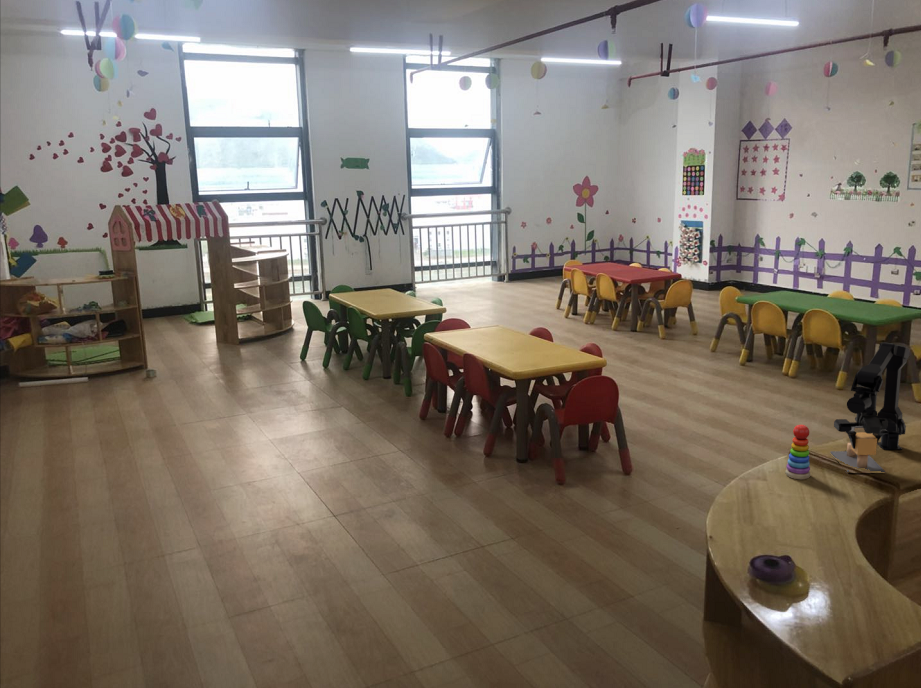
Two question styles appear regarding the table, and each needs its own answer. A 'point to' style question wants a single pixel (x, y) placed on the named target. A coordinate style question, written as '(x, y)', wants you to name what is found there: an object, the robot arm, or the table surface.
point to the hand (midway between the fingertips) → (863, 448)
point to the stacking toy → (799, 454)
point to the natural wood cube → (865, 444)
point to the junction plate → (856, 459)
